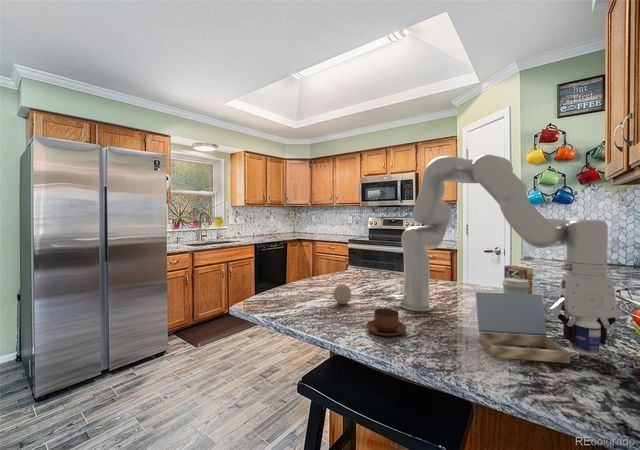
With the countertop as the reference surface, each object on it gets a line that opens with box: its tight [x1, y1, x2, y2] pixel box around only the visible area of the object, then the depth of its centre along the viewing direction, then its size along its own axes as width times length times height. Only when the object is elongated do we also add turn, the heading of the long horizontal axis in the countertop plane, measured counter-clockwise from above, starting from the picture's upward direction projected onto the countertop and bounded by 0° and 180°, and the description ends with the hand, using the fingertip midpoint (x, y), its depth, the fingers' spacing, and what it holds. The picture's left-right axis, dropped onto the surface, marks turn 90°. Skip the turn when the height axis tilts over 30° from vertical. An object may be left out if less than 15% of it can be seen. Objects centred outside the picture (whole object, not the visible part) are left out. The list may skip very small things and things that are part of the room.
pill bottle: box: [569, 317, 601, 357], centre depth 74 cm, size 6×6×10 cm
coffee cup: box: [501, 277, 530, 294], centre depth 109 cm, size 8×9×12 cm
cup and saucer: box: [366, 308, 407, 337], centre depth 92 cm, size 12×12×6 cm
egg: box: [333, 283, 352, 305], centre depth 121 cm, size 7×7×8 cm
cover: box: [475, 291, 548, 337], centre depth 84 cm, size 17×11×1 cm
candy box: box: [503, 264, 534, 294], centre depth 118 cm, size 9×4×15 cm, turn 26°
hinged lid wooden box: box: [478, 331, 571, 364], centre depth 78 cm, size 17×10×2 cm, turn 79°
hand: (584, 340), depth 74 cm, fingers closed on pill bottle, 5 cm apart
